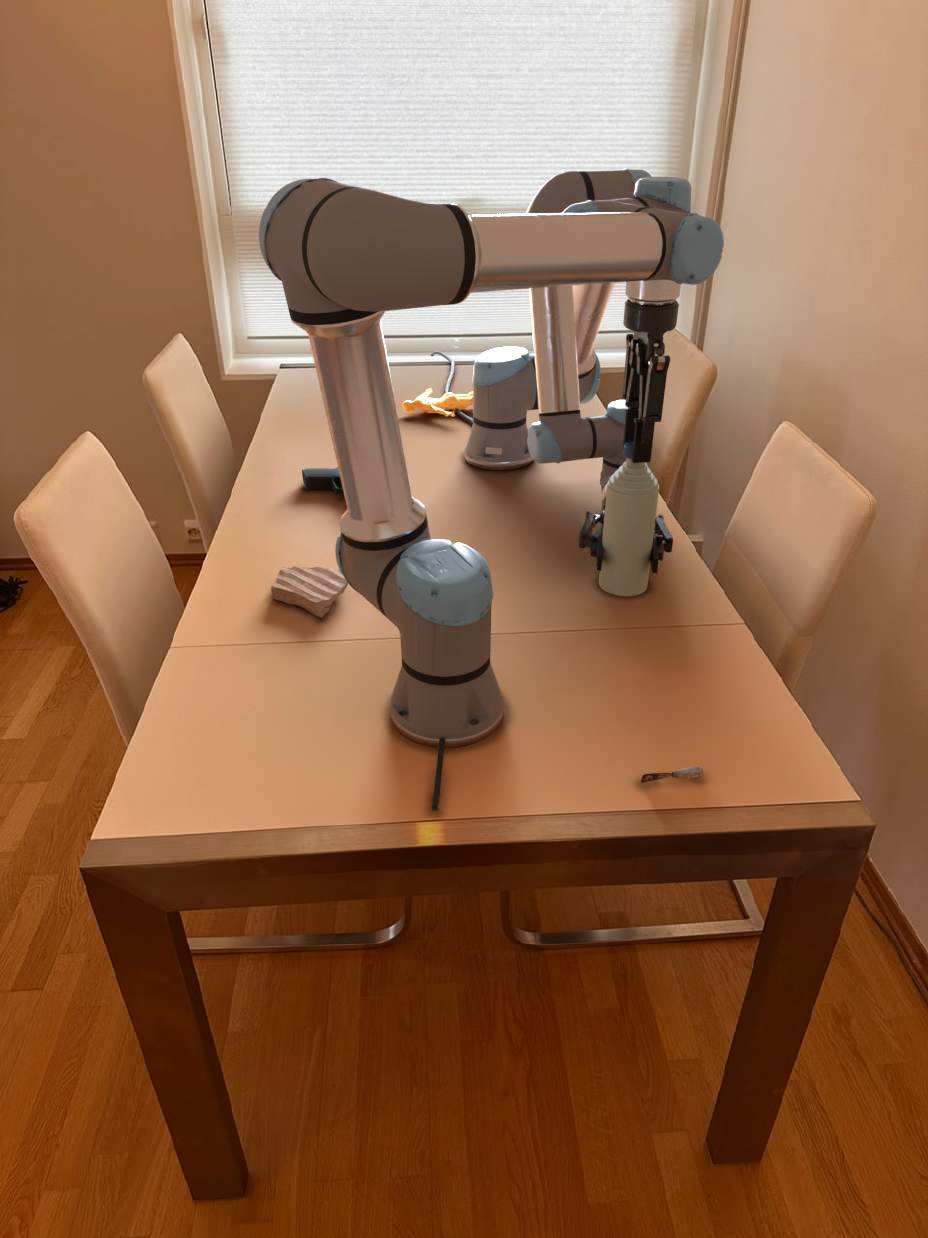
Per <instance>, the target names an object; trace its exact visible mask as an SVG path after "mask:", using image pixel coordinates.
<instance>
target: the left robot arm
mask: <svg viewBox="0 0 928 1238" xmlns="http://www.w3.org/2000/svg"><path fill="white" fill-rule="evenodd" d="M691 207H692V184H691V182H690V181H689V180H688V179H686V178H683V177H676V176H652V177H645V178H641V179H639V180H638V181H637V183H636V186H635V192H634V193H633V197H631V198H626V199H613V200H601V201H591V200H588V201H586V202H583V203H578V204H573V205H570V206H569V207H568V208H566V209H565V210H564V212H563V213H560V214H526V213H506V214H505V213H504V214H503V213H502V214H501V213H499V214H498V213H497V214H468V213H467V212H466V210H465V209H464V208H463V207H461V206H460V205H458V204H455V203H430V202H423V201H418V200H413V199H408V198H404V197H401V196H397V195H394V194H393V195H392V194H389V193H385V192H382V191H379V190H375V189H371V188H365V187H361V186H356V185H351V184H346V183H343V182H339V181H337V180H334V179H331V178H327V177H319V178H301V179H297V180H293V181H291V182H290V183H287V184H285V185H284V186H282V187H281V188H279V190H278V191H276V192H275V193H274V194H273V196H271V198H270V200H269V201H268V202H267V205H266V207H265V208H264V209H263V212H262V214H261V218H260V223H259V228H258V243H259V248H260V253H261V256H262V259H263V260H264V262H265V264H266V266H267V267H268V269H269V270H270V272H271V273H272V275H273V276H274V277H275V278H276V279H278V281H280V282H281V284H282V288H283V292H284V296H285V300H286V306H287V310H288V313H289V317H290V321H291V322H292V324H294V325H296V326H297V327H299V328H300V329H302V330H303V331H304V332H306V334H307V336H308V341H309V346H310V350H311V353H312V354H311V355H312V358H313V362H314V366H315V371H316V376H317V380H318V386H319V389H320V393H321V398H322V404H323V407H324V411H325V416H326V420H327V424H328V429H329V433H330V438H331V442H332V446H333V451H334V455H335V460H336V464H337V467H338V469H339V474H340V478H341V482H342V487H343V491H344V494H343V496H344V499H345V500H344V501H345V504H346V510H345V511H344V513H343V514H342V515H341V517H340V518H339V530H340V535H338V536H337V538H336V542H335V549H334V550H335V551H334V552H335V554H334V555H335V561H336V564H337V567H338V570H340V571H341V573H342V575H343V576H344V578H345V579H346V581H347V582H348V586H350V587H351V588H352V589H353V590H354V591H355V592H356V593H357V594H359V595H360V596H362V597H363V598H364V599H365V600H366V601H367V602H369V603H370V604H371V605H372V606H373V607H374V608H375V609H376V610H378V612H380V613H381V614H382V615H383V616H384V617H385V618H387V619H388V620H389V622H391V623H392V624H393V625H394V626H395V627H396V628H397V630H398V631H399V635H400V655H401V667H400V669H399V672H398V675H397V678H396V681H395V684H394V687H393V690H392V693H391V696H390V718H391V721H392V724H393V725H394V727H395V728H396V729H397V731H398V732H399V733H400V734H402V735H403V736H404V737H406V738H407V739H409V740H411V741H413V742H415V743H417V744H420V745H421V744H422V745H425V746H430V747H437V749H438V750H437V757H436V758H437V759H436V768H435V776H434V777H435V778H434V788H433V794H432V795H433V796H432V803H431V809H432V810H433V811H438V810H439V803H440V795H441V787H442V786H441V784H442V776H443V775H442V774H443V766H444V765H443V764H444V755H445V748H454V747H455V748H457V747H463V746H467V745H471V744H473V743H476V742H480V741H481V740H483V739H485V738H486V737H488V736H489V735H491V734H492V733H493V732H494V731H495V730H496V729H498V727H499V726H500V724H501V722H502V720H503V717H504V697H503V693H502V690H501V687H500V685H499V682H498V679H497V677H496V674H495V672H494V668H493V666H492V664H491V654H492V653H491V651H492V649H491V648H492V647H491V645H492V608H493V607H492V605H493V599H494V590H493V583H492V574H491V568H490V566H489V564H488V563H487V560H486V559H485V558H484V556H482V555H481V553H479V551H477V550H476V549H474V548H473V547H471V546H469V545H467V544H465V543H462V542H455V543H452V541H451V540H450V539H442V538H438V539H435V538H434V539H432V537H431V533H430V527H429V521H428V520H429V519H428V515H427V509H426V507H425V505H424V503H422V502H421V501H420V500H419V499H417V498H415V497H413V496H412V491H411V485H410V479H409V473H408V467H407V462H406V456H405V455H406V454H405V450H404V445H403V439H402V433H401V427H400V421H399V417H398V416H399V415H398V410H397V404H396V398H395V394H394V393H395V391H394V386H393V382H392V376H391V370H390V364H389V359H388V354H387V347H386V343H385V342H386V341H385V336H384V335H385V334H384V331H383V324H382V318H383V317H384V316H385V315H386V313H387V312H390V311H391V312H392V311H400V310H401V311H402V310H410V309H420V308H430V307H438V306H439V307H440V306H452V305H458V304H461V303H463V302H464V301H466V299H467V298H469V296H470V294H472V293H486V292H500V291H501V292H503V291H517V290H527V289H531V288H545V287H559V286H573V285H587V284H602V283H615V284H617V283H625V296H626V297H627V298H628V299H626V300H625V301H624V309H623V311H624V312H623V320H622V321H623V326H624V328H625V329H626V330H629V331H632V333H626V336H625V344H626V345H625V346H626V347H625V349H626V351H625V360H624V361H625V363H624V374H623V382H622V383H623V384H622V395H621V396H622V400H626V401H625V405H626V407H628V409H626V417H625V428H624V438H623V449H624V444H625V443H627V442H631V441H634V444H633V454H632V462H633V463H651V461H652V451H653V443H654V442H653V441H654V435H655V426H656V423H661V422H662V418H663V411H664V410H663V408H664V402H665V401H664V400H665V393H666V384H667V376H668V370H669V366H670V363H671V357H670V355H669V354H668V355H665V352H666V351H665V350H666V346H665V345H666V344H665V343H664V336H665V334H666V333H667V332H672V331H673V330H675V329H676V327H677V325H678V324H677V323H678V317H679V315H678V314H679V308H680V303H679V302H678V301H677V299H679V297H680V295H681V287H682V285H683V284H684V285H692V286H694V285H695V286H696V285H699V284H702V283H704V282H706V281H707V280H708V279H710V278H711V277H712V276H713V275H714V273H715V272H716V270H717V269H718V267H719V266H720V263H721V261H722V257H723V255H722V254H723V251H724V249H723V248H724V247H725V238H724V233H723V230H722V228H721V226H720V224H719V223H718V222H717V221H716V220H714V219H713V218H711V217H709V216H703V215H700V214H698V212H697V213H696V212H691V210H692V209H691Z"/></svg>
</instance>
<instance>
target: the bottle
mask: <svg viewBox="0 0 928 1238" xmlns="http://www.w3.org/2000/svg"><path fill="white" fill-rule="evenodd" d="M659 493H660V484H659V481H658V479H657V478H656V477H655V474H654V473H653V472H652V469H651V468H650V467H649V465H648V463H647V462H645V463H633V462H632V459H629V458H626V461H625V462H624V463H623V465H622V466H620V467H619V469H618V470H617V471H615V473H614V474H613V475H612V476H611V477H610V480H609V481H608V483H607V492H606V503H605V515H604V526H603V538H602V554H603V557H602V568H601V571H599V575H598V585H599V587H600V589H601V590H602V591H604V592H605V593H608V594H610V595H614V596H617V597H618V596H619V597H634V596H639V595H641V594H643V593H645V592H646V590H647V589H648V585H649V577H650V570H651V569H650V567H651V552H652V544H653V536H654V532H655V531H654V528H655V519H656V517H657V510H658V501H659Z"/></svg>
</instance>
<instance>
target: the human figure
mask: <svg viewBox="0 0 928 1238" xmlns="http://www.w3.org/2000/svg"><path fill="white" fill-rule="evenodd" d="M424 391H425V392H423V393H422V394H420V395H418V396H416V398H415V399H414V400H404V401H403V402H402V411H404V412H405V413H410V414H412V413H414V412H417V408H418V409H420V410H421V411H423V412H424V413H427V414H439V415H443V416H444V417H449V416H450V417H451V418H452V417H453V418H454V417H455V416H456V414H455V413H456V412H455V411H454V410H455V409H458V410H459V411H462V410H464V409H467V408H469V407H471V406H473V391H470V392H469V393H468V394H460V393H457V394H455V393H453V392H449V393H446V394H445V393H444V394H443V395H442V396H441V397H440V398H434V397H429V396H430V395H432V394H433V392H434V391H433V389H432V385H429V387H428V389H424ZM450 410H452V411H450Z"/></svg>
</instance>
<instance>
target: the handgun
mask: <svg viewBox="0 0 928 1238" xmlns="http://www.w3.org/2000/svg"><path fill="white" fill-rule="evenodd" d="M301 476H302V482H303V485H304V487H305V490H333V492H334V493H335V495H337V496H338V495H344V491H343V487H342V482H341V478H340V474H339V469H338V466H337V467H336V468H332V467H331V468H329V467H327V468H326V467H325V468H323V467H313V468H312V467H311V468H304V469H301Z"/></svg>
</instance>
